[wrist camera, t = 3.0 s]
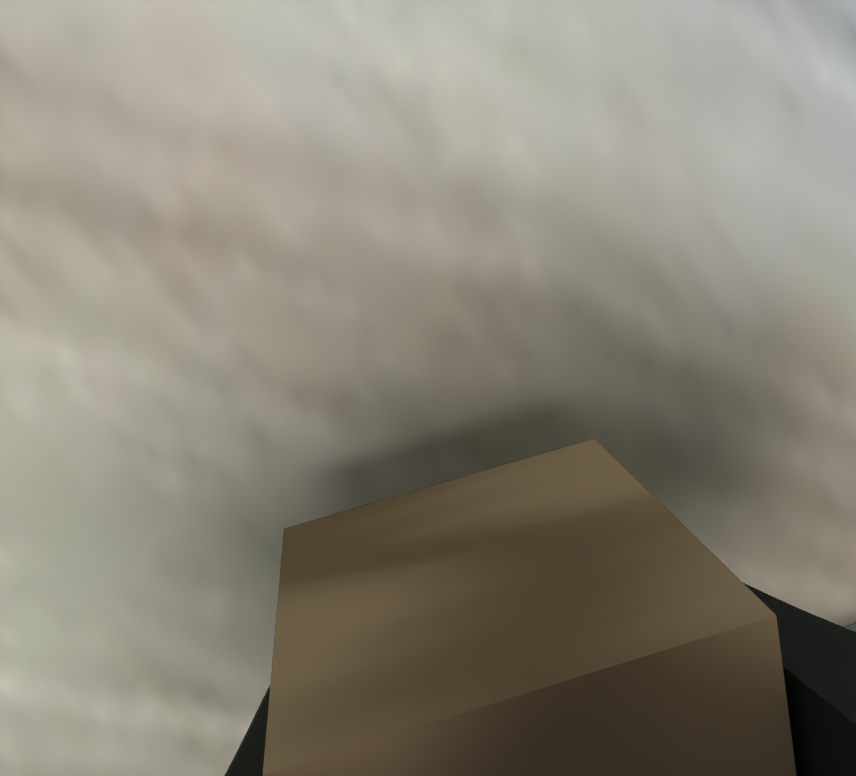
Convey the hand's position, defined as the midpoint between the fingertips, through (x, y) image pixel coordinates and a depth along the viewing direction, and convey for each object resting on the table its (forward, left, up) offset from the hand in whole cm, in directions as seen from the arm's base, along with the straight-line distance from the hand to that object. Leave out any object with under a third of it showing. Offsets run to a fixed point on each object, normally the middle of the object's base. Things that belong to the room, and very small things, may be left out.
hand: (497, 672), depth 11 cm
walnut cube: (0, 0, -1) cm, 1 cm away
